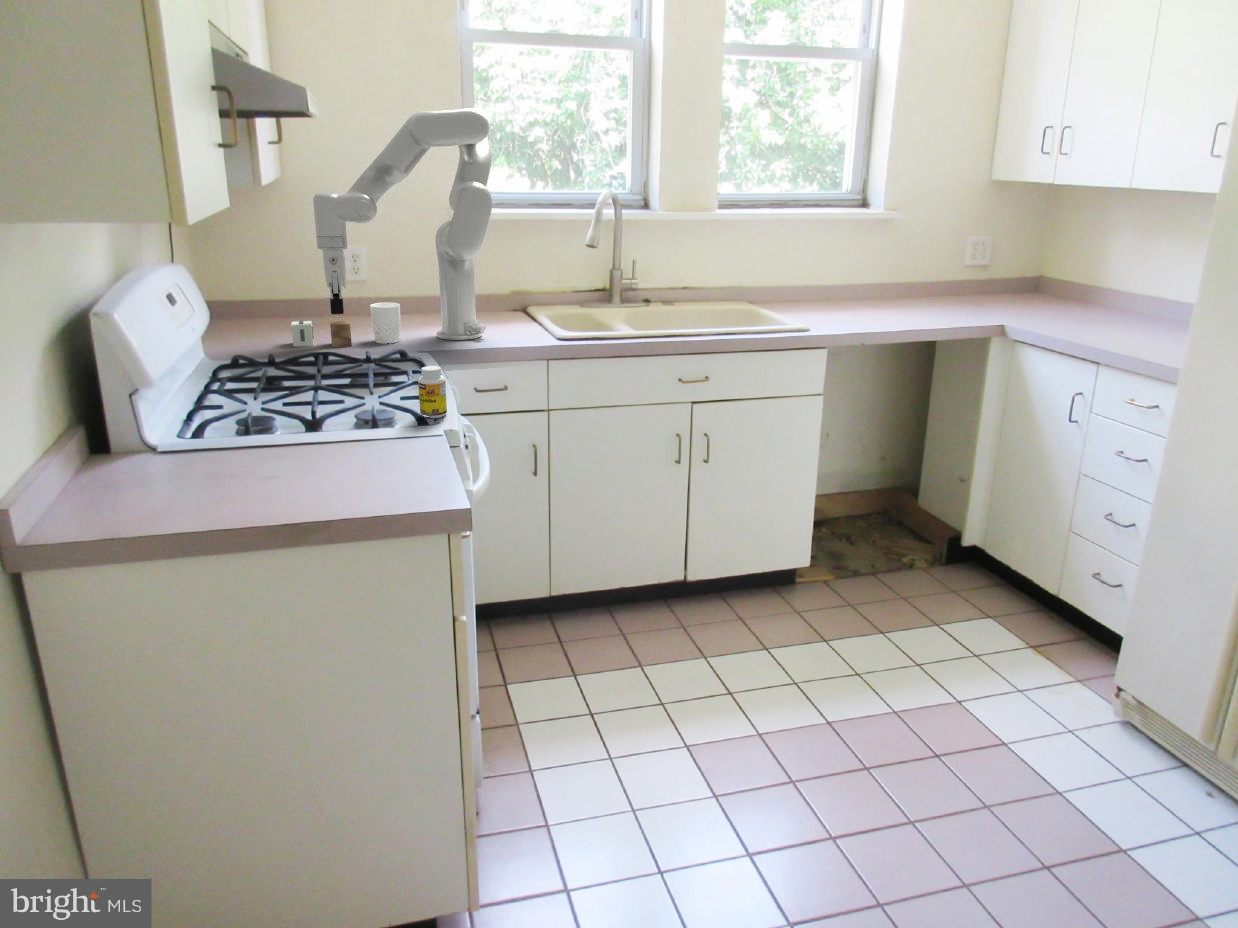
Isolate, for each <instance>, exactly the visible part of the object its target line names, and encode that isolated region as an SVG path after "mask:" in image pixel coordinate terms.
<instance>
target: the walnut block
mask: <svg viewBox="0 0 1238 928" xmlns="http://www.w3.org/2000/svg"><path fill="white" fill-rule="evenodd" d="M350 322H351V321H350V320H340V321H339V320H336V321H335V320H334V321H330V322H329V325H330V327H329V328H330V336H331V338H330V339H331V347H332V348H342V347H343V348H347V347H353V346H352V344H353V343H352V333H351V323H350Z"/></svg>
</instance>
